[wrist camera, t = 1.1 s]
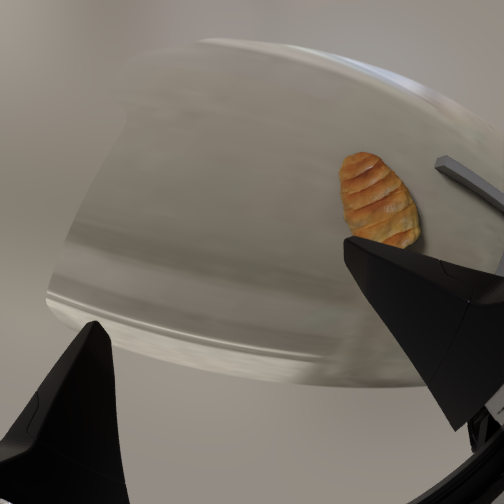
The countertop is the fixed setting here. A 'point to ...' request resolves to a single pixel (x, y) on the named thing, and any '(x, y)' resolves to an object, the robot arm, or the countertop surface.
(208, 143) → the countertop surface
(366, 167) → the pastry
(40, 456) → the robot arm
